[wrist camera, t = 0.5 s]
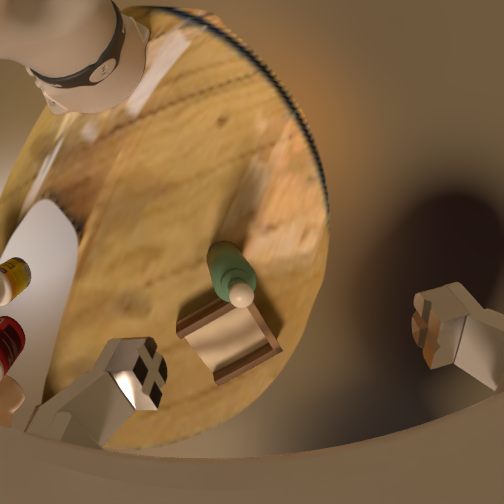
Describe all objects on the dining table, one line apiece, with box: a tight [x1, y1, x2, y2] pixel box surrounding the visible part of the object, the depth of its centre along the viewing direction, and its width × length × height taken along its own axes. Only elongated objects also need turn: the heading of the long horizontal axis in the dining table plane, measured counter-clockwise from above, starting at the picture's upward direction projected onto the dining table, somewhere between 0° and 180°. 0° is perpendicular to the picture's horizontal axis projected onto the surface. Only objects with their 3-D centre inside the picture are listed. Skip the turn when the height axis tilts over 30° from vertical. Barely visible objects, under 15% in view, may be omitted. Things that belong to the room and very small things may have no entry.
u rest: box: [176, 298, 283, 386], centre depth 49 cm, size 12×12×4 cm
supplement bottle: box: [0, 257, 31, 306], centre depth 36 cm, size 6×6×10 cm
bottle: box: [207, 241, 257, 308], centre depth 40 cm, size 5×5×15 cm
